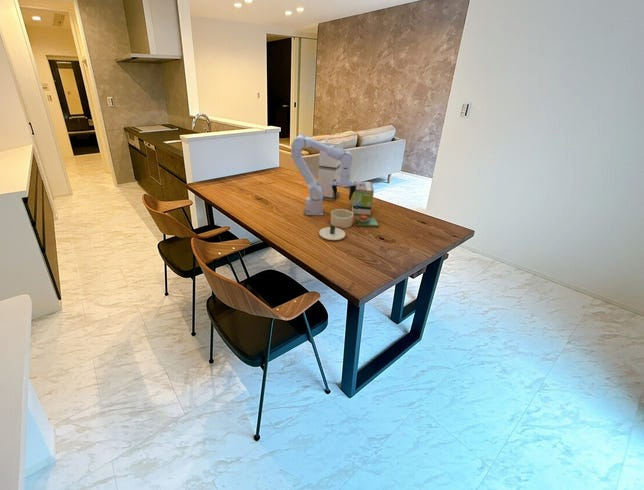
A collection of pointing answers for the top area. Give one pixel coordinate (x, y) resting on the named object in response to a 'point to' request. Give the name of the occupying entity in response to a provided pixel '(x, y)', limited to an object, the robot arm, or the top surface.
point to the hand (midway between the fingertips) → (342, 199)
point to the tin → (341, 218)
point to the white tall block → (328, 171)
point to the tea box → (362, 198)
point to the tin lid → (332, 233)
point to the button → (363, 217)
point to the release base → (366, 222)
